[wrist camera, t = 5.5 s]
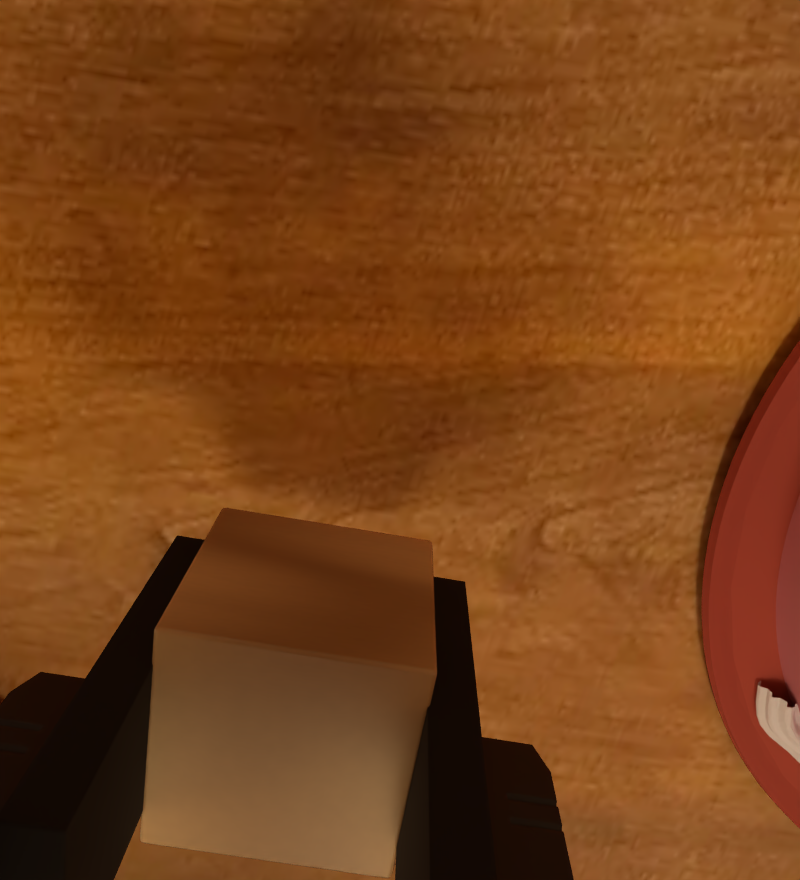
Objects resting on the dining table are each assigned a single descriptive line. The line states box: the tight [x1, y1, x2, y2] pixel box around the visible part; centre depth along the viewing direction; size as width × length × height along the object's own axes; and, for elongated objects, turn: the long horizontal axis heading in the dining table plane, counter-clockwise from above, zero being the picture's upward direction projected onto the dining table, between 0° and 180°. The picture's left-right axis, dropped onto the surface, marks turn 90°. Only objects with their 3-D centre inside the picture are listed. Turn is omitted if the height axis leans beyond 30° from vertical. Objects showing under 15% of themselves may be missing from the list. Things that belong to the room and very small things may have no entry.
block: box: [140, 508, 437, 878], centre depth 13 cm, size 4×4×4 cm
